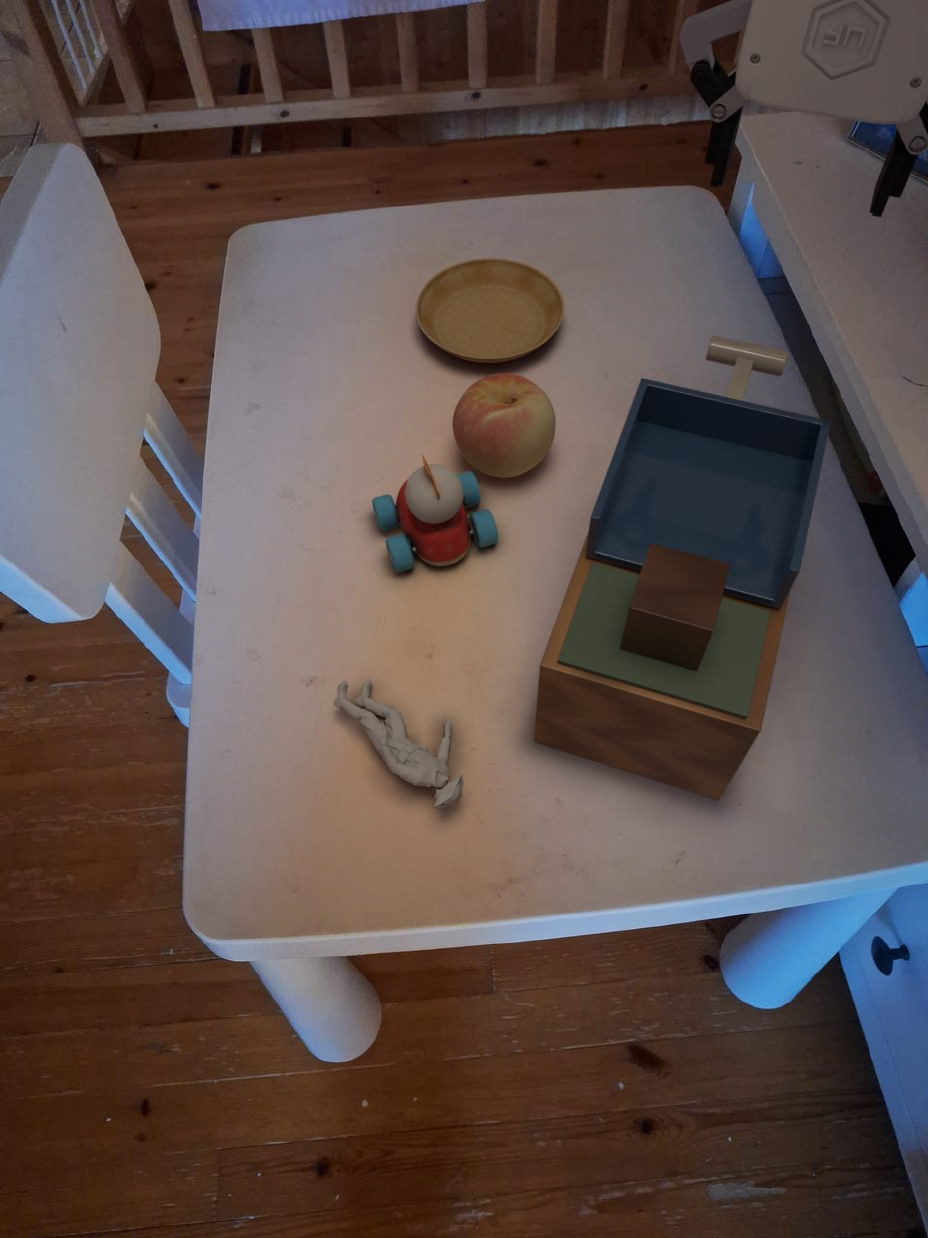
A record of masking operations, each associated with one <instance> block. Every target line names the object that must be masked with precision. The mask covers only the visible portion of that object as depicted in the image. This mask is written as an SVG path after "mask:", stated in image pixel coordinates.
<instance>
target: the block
mask: <svg viewBox="0 0 928 1238" xmlns="http://www.w3.org/2000/svg"><path fill="white" fill-rule="evenodd" d="M729 569H730V564H728V563H724V562H720V561H717V560H713V559H709V558H705V557H701V556H698V555H694V554H690V553H686V552H683V551H679V550H675V549H671V548H667V547H664V546H660V545H656V544H652V543H650V544H649V546H648V550H647V553H646V556H645V559H644V562H643V565H642V569H641V572H640V575H639V578H638V581H637V584H636V587H635V591H634V594H633V597H632V600H631V603H630V606H629V610H628V615H627V619H626V623H625V627H624V632H623V636H622V640H621V644H620V649H621V650H625V651H628V652H632V653H635V654H638V655H642V656H645V657H649V658H652V659H656V660H659V661H662V662H666V663H669V664H673V665H676V666H680V667H683V668H687V669H690V670H693V671H698V668H699V666H700V664H701V661H702V659H703V656H704V654H705V651H706V649H707V646H708V644H709V641H710V639H711V636H712V634H713V631H714V627H715V623H716V620H717V616H718V612H719V608H720V604H721V600H722V596H723V592H724V588H725V585H726V581H727V577H728V573H729Z"/></svg>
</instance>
